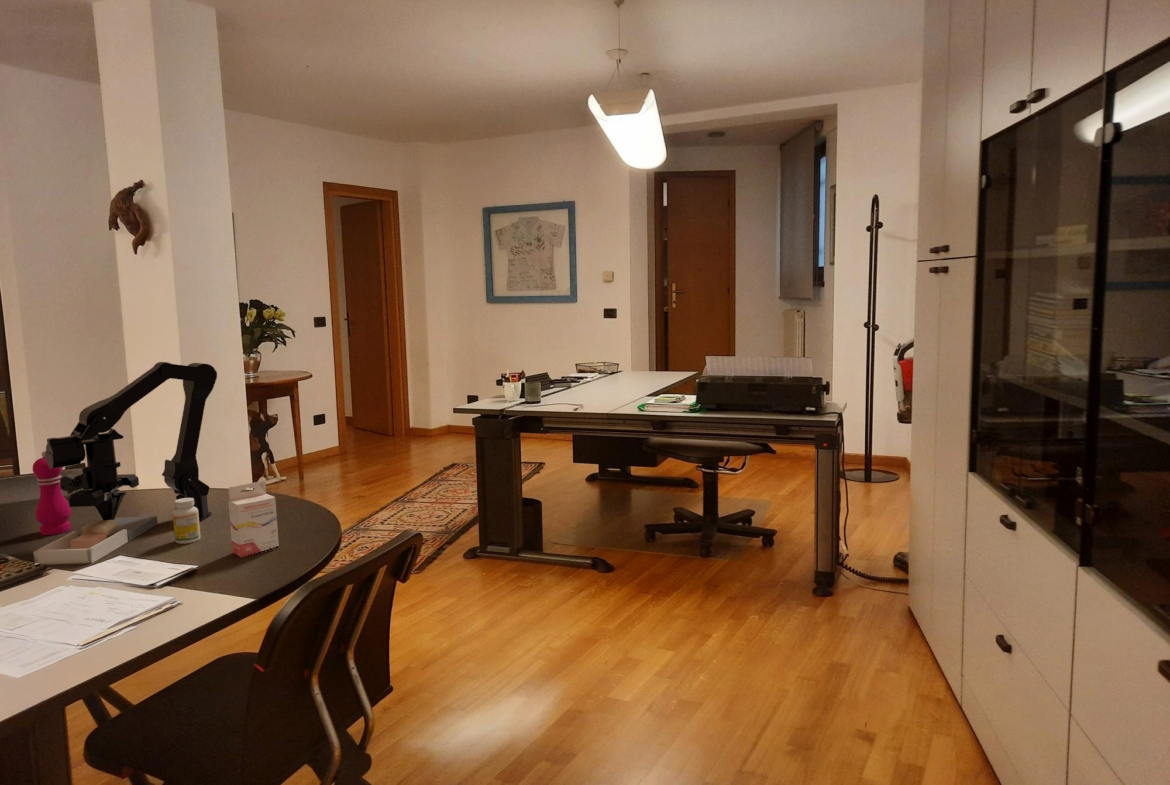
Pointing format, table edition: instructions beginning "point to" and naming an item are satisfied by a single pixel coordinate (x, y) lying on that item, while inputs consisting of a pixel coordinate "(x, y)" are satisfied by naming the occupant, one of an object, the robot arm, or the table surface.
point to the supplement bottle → (186, 521)
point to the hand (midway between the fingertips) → (109, 525)
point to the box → (77, 550)
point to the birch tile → (101, 527)
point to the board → (133, 525)
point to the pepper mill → (51, 499)
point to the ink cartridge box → (252, 519)
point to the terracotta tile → (87, 540)
